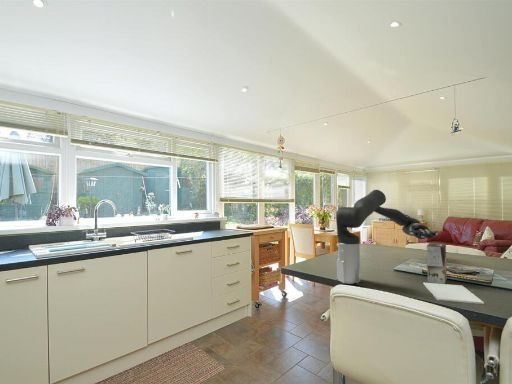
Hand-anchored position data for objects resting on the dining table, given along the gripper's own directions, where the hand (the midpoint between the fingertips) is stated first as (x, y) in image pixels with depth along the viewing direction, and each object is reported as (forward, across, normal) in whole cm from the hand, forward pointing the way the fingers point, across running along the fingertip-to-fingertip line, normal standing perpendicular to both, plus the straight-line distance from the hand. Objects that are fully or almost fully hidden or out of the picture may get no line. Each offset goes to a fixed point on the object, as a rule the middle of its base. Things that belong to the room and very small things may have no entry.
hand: (429, 236), depth 127 cm
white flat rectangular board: (+26, 0, +18) cm, 31 cm away
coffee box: (+10, 0, +18) cm, 21 cm away
